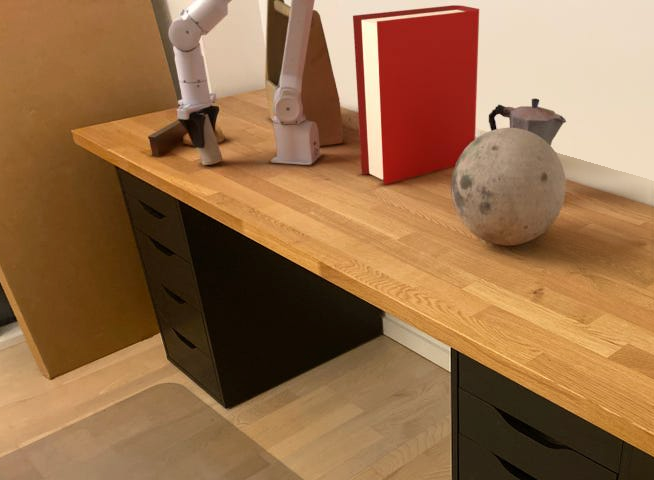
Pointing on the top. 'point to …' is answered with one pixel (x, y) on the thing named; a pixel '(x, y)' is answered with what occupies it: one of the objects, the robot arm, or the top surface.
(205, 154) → the planter
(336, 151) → the top surface
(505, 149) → the moon model
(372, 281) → the top surface
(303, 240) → the top surface
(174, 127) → the wall shelf
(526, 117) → the moka pot
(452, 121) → the book
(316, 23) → the caddy
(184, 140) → the pastry
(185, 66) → the robot arm
